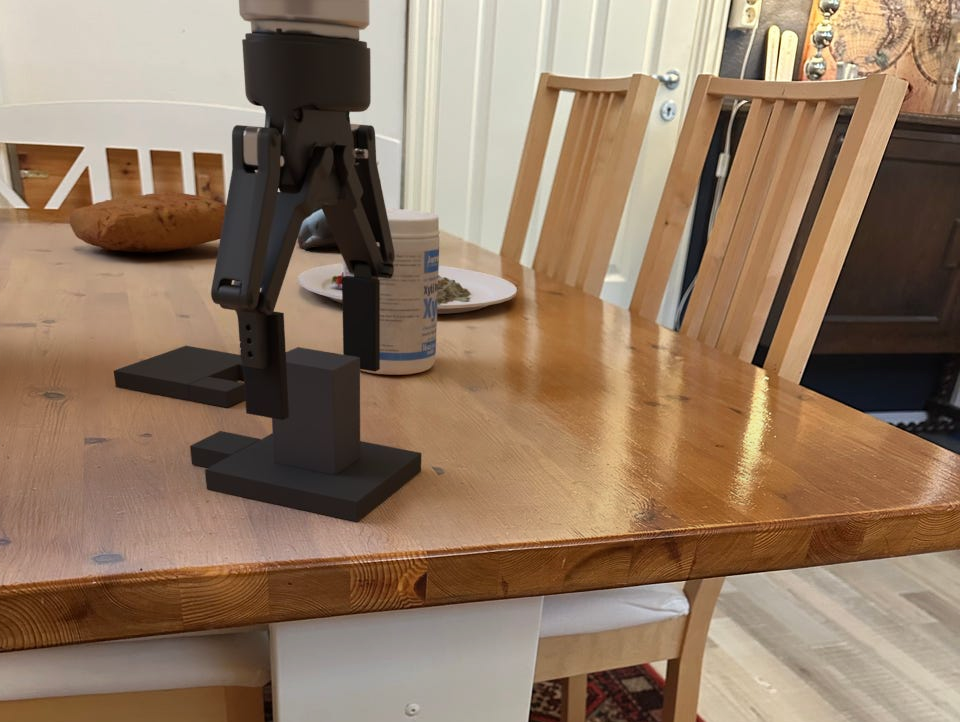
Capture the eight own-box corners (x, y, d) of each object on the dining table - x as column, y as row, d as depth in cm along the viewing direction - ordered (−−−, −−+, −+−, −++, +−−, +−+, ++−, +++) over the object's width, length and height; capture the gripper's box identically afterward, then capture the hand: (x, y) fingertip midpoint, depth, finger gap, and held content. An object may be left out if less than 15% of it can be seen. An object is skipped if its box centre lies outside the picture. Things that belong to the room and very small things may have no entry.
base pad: (115, 386, 85) (113, 370, 85) (187, 360, 94) (185, 345, 94) (228, 408, 82) (226, 391, 81) (291, 378, 91) (290, 363, 90)
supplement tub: (444, 377, 95) (451, 221, 87) (352, 378, 93) (351, 218, 85) (423, 353, 103) (428, 208, 95) (338, 353, 100) (336, 204, 93)
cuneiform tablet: (199, 240, 157) (194, 188, 152) (248, 258, 146) (244, 202, 142) (65, 246, 144) (56, 189, 140) (108, 266, 133) (100, 204, 129)
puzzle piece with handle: (162, 479, 67) (147, 354, 63) (245, 436, 76) (238, 323, 72) (357, 522, 63) (356, 391, 59) (421, 471, 72) (425, 354, 68)
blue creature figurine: (284, 249, 154) (271, 163, 153) (314, 270, 166) (302, 190, 165) (368, 229, 150) (355, 141, 149) (393, 251, 162) (381, 170, 161)
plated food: (552, 317, 123) (555, 291, 121) (330, 323, 112) (330, 294, 110) (467, 274, 146) (468, 251, 144) (277, 275, 135) (276, 251, 133)
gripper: (245, 17, 44) (272, 451, 55) (444, 47, 64) (435, 358, 75) (113, 11, 46) (164, 430, 57) (346, 42, 66) (351, 346, 77)
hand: (318, 390), depth 66 cm, fingers open, 13 cm apart
